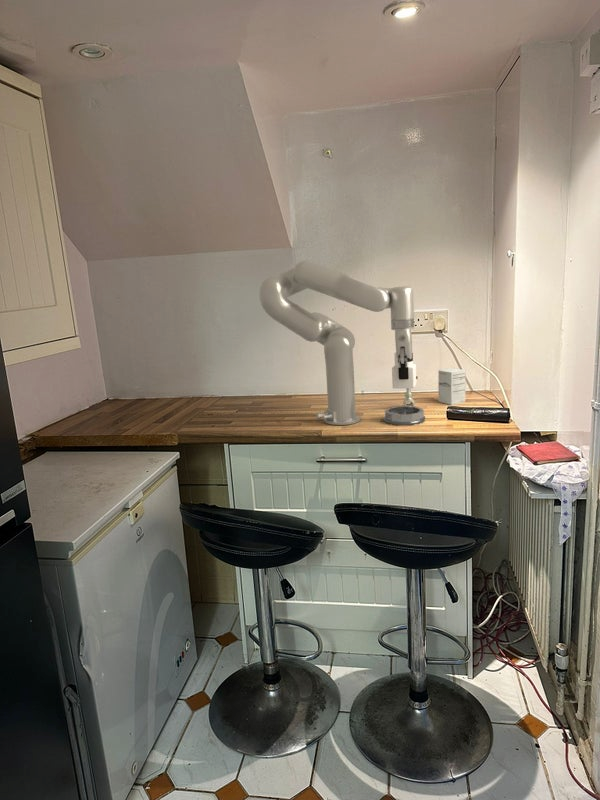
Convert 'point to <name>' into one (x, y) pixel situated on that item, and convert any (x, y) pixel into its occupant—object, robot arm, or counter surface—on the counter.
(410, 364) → the medicine bottle
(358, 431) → the counter surface
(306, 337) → the robot arm
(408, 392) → the valve
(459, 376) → the supplement box
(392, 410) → the ring collar
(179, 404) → the counter surface
